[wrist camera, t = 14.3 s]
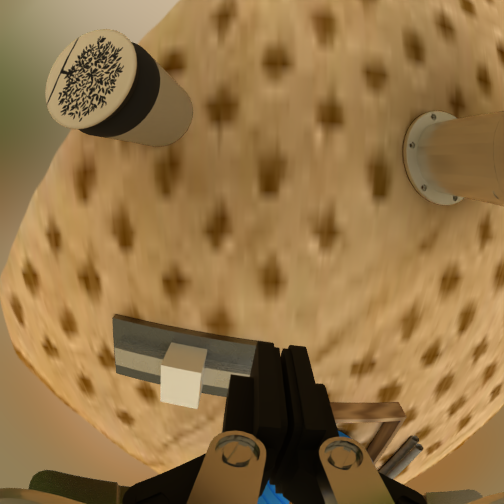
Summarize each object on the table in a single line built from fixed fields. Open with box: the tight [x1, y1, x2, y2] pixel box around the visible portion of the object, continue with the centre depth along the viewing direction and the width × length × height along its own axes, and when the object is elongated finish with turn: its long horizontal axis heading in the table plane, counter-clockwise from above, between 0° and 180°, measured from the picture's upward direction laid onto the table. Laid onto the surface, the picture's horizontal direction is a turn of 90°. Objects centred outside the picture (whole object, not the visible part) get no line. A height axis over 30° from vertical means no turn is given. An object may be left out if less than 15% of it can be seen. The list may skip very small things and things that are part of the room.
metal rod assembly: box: [378, 436, 423, 479], centre depth 48 cm, size 26×3×5 cm, turn 160°
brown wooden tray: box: [330, 402, 406, 465], centre depth 45 cm, size 28×32×4 cm
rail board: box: [113, 314, 257, 397], centre depth 40 cm, size 22×10×3 cm, turn 81°
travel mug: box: [46, 29, 193, 147], centre depth 24 cm, size 8×8×18 cm
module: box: [161, 342, 207, 409], centre depth 37 cm, size 5×6×5 cm
